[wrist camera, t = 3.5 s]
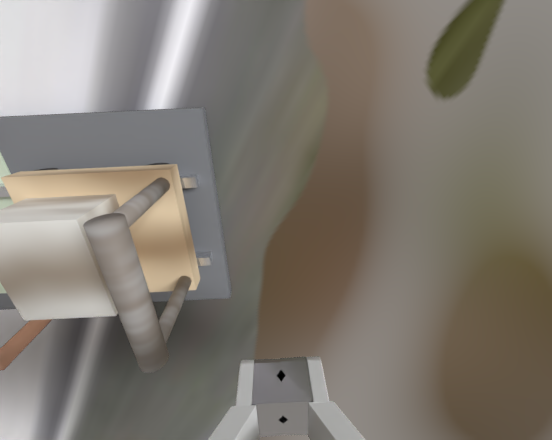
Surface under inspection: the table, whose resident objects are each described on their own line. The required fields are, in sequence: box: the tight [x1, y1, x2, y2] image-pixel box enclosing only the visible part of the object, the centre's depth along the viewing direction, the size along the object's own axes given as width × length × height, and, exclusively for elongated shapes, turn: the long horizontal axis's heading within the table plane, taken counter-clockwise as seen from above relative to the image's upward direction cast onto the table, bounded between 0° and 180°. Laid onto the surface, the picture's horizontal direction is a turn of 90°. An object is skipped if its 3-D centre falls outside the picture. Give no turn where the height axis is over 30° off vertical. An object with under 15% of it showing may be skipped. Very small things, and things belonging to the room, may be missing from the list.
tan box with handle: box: [0, 163, 200, 373], centre depth 17 cm, size 10×11×10 cm
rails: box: [0, 174, 213, 266], centre depth 21 cm, size 8×28×1 cm, turn 92°
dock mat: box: [0, 107, 231, 310], centre depth 22 cm, size 17×30×1 cm, turn 92°
